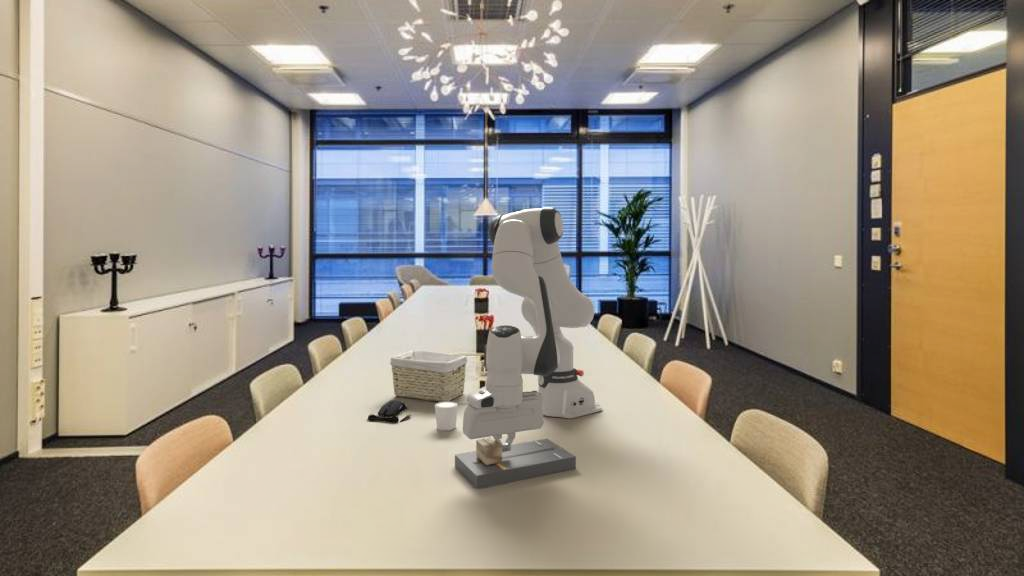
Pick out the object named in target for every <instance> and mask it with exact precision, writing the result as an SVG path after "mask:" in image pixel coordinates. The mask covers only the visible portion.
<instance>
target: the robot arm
mask: <svg viewBox="0 0 1024 576" xmlns="http://www.w3.org/2000/svg"><path fill="white" fill-rule="evenodd" d="M563 233H564V222H563V219H562V215H561V213H560V212H559V210H557V209H556V208H555V207H548V206H547V207H546V206H545V207H544V206H543V207H542V208H527V209H522V210H518V211H514V212H513V211H512V212H510V213H506V214H499V215H497V216H495V217H493V218H492V219H491V221H490V223H489V225H488V237H489V240H490V243H491V244H492V245H493V248H492V256H491V257H492V258H491V259H492V260H491V270H492V271H491V272H492V277H493V279H494V281H495V283H496V284H498V286H499V287H501V288H502V289H503V290H505V291H507V292H509V293H510V294H514V295H515V296H519V297H521V298H523V300H522V303H521V308H520V309H521V314H522V317H523V319H525V321H526V322H527V323H528V324H529V325H530V326H531V328H532V330H533V332H534V334H535V335H522V333H521V331H520V329H519V328H518V327H516V326H512V325H497V326H494V327H492V328H490V330H489V331H488V335H487V341H486V342H487V343H486V344H485V345H484V350H483V361H484V362H483V364H484V366H485V367H486V370H487V376H486V379H485V385H484V386H482V387H481V388H479V389H476V390H474V391H472V392H470V393H467V395H466V402H467V403H468V404H467V405H466V406H465V409H464V411H463V416H462V417H463V421H462V432H463V435H465V436H466V438H468V439H469V440H475V439H476V440H478V439H483V438H491V437H492V438H493V439H494V440H495V441H497V442H498V443H499V444H501V445H502V452H505V451H511V445H513V444H512V443H513V442H514V440H515V438H516V433H519V432H521V433H522V432H526V431H527V432H528V431H532V430H538V429H541V428H542V427H543V426H544V421H545V420H544V416H546V417H553V418H564V419H574V418H579V417H581V416H582V417H583V416H587V415H590V414H594V413H598V412H601V411H602V410H603V407H602V406H601V404H599V403H597V402H596V399H595V394H594V391H593V390H592V389H591V388H590V387H588V385H586V384H585V383H583V382H582V381H581V380H580V379H579V378H578V376H579V377H583V376H584V375H585V372H584V370H582V369H576V368H574V345H573V343H572V342H571V341H570V340H569V339H568V338H566V336H565V335H564V334H563V333H562V330H561V328H568V329H578V328H585V327H588V326H589V325H590V324H591V322H592V321H593V319H594V316H595V307H594V303H593V301H592V300H591V298H589V296H586V295H584V293H582V292H581V291H580V290H578V288H577V287H576V286H575V284H574V283H573V282H572V281H571V279H570V277H569V276H568V274H567V271H566V268H565V264H564V262H563V261H564V260H563V257H562V253H561V250H560V246H559V243H558V242H559V241H560V239H561V238H562V236H563ZM522 375H534V376H537V383H538V391H537V390H532V391H523V390H524V384H523V382H524V379H523V376H522ZM503 435H507V437H506V440H505V441H504V442H502V441H501V440H502V439H503Z"/></svg>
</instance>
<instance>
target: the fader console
mask: <svg viewBox="0 0 1024 576" xmlns="http://www.w3.org/2000/svg"><path fill="white" fill-rule="evenodd" d="M576 462H577V457H576V456H575V455H574V454H572V453H571V452H569V451H568V450H566V449H564V448H563V447H561V446H560V445H558V444H556V443H555V442H554V441H551V440H550V439H548V438H543V439H542V438H541V439H539V440H538V439H537V440H534V439H533V440H531V441H525V442H520V443H513V444H511V451H505V452H502V462H500V463H494V464H489V465H486V464H485V463H483V462H482V461H481V460H480V459H479V458H478V457H477V456H476V450H472V451H468V452H462V453H457V454H454V467H455V468H456V469H457V470H458V471H459V472H460V473H461V474H462V475H463V477H464V478H465V479H466V480H468V482H470V484H471V485H472V486H473V485H474V486H475V487H476V488H475V487H474V486H473V487H474V488H475V489H476V490H478V489H477V488H479V489H482V487H484V488H487V486H489V487H492V485H493V486H496V485H497V484H498V485H502V484H507V483H512V482H518V481H523V480H527V479H532V478H536V477H540V476H541V477H542V476H547V475H550V474H556V473H561V472H566V471H570V470H575V469H576V466H577V463H576ZM498 485H497V486H498Z"/></svg>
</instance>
